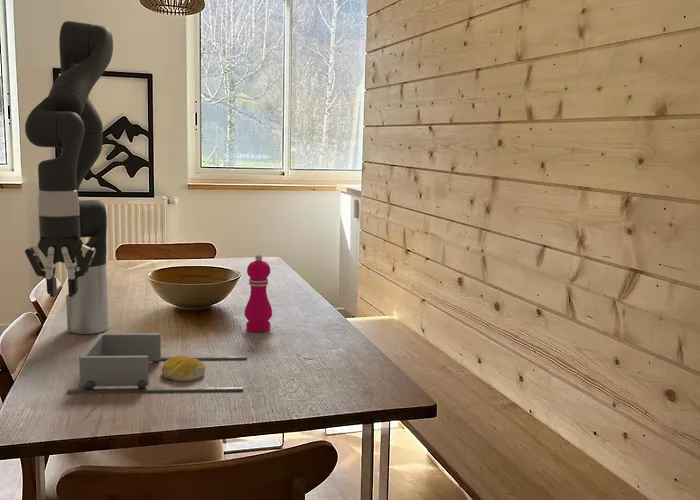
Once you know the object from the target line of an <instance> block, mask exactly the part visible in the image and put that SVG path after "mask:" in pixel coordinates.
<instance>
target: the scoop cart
mask: <svg viewBox="0 0 700 500" xmlns="http://www.w3.org/2000/svg"><path fill="white" fill-rule="evenodd" d="M161 335H162V334H161V333H159V332H157V333H156V332H153V333H149V332H148V333H145V332H144V333H143V332H141V333H138V332H137V333H132V332H131V333H98V335H97V337H95V339H94V340H93V341H92V343H90V345H89V346H88V347H87V348H86V349H85V350H84V352H83V353H82V354H81V355H80V356H79V357H78V359H79V379H80V380H79V381H80V382H79V385H80V387H84V388H85V389H95V387H137V388H147V387H148V386H149V384H150V383H149V381H150V380H149V379H150V378H149V362H150V361H152V362H160V361H162V360H161V357H162V343H161V341H162V338H161Z"/></svg>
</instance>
